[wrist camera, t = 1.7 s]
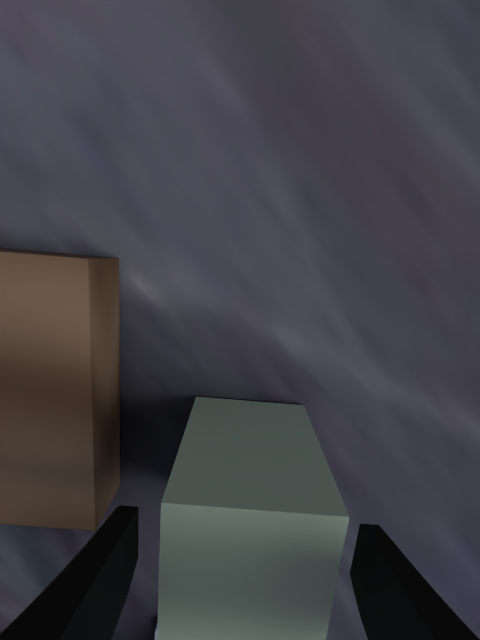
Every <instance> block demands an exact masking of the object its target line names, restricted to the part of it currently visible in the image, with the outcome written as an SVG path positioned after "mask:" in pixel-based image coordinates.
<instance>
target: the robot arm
mask: <svg viewBox="0 0 480 640" xmlns="http://www.w3.org/2000/svg"><path fill="white" fill-rule="evenodd" d="M137 559H138V507H133V506H118V507H117V508H116V509H115V510H114V511H113V513H112V514H111V515H110V516H109V518H108V519H107V520H106V521H105V522H104V524H103V525H102V526H101V527H100V528H99V530H98V531H97V532H96V533H95V534H94V536H93V537H92V538H91V539H90V540H89V541H88V542H87V544H86V545H85V546H84V547H83V548H82V549H81V551H80V552H79V553H78V554H77V555H76V556H75V557H74V558H73V559H72V560H71V562H70V563H69V564H68V565H67V566H66V567H65V568H64V569H63V570H62V572H61V573H60V574H59V575H58V576H57V577H56V578H55V579H54V580H53V581H52V582H51V583H50V584H49V585H48V586H47V587H46V588H45V590H44V591H43V592H42V593H41V594H40V595H39V596H38V597H37V598H36V599H35V600H34V601H33V602H32V603H31V604H30V605H29V606H28V607H27V608H26V609H25V610H24V611H23V612H22V613H21V614H20V615H19V616H18V617H17V618H16V619H15V620H14V621H13V622H12V623H11V624H10V625H9V626H8V627H7V628H6V629H5V630H4V631H3V632H2V633H1V634H0V640H111V638H112V636H113V633H114V630H115V628H116V625H117V622H118V620H119V617H120V614H121V612H122V609H123V606H124V604H125V601H126V598H127V595H128V591H129V588H130V584H131V581H132V577H133V574H134V570H135V567H136V563H137ZM350 576H351V580H352V585H353V589H354V593H355V597H356V601H357V605H358V609H359V613H360V617H361V620H362V623H363V626H364V629H365V632H366V635H367V638H368V640H479V638H478V637H477V636H476V635H475V634H474V633H473V632H472V631H471V630H470V629H469V628H468V627H467V626H466V625H465V624H464V623H463V622H462V620H461V619H460V618H459V617H458V616H457V615H456V614H455V613H454V612H453V611H452V609H451V608H450V607H449V606H448V605H447V604H446V603H445V602H444V601H443V599H442V598H441V597H440V596H439V595H438V594H437V593H436V592H435V590H434V589H433V588H432V587H431V586H430V585H429V584H428V582H427V581H426V580H425V579H424V578H423V577H422V575H421V574H420V573H419V572H418V571H417V570H416V568H415V567H414V566H413V565H412V564H411V563H410V561H409V560H408V559H407V558H406V557H405V555H404V554H403V553H402V552H401V551H400V550H399V548H398V547H397V546H396V545H395V544H394V542H393V541H392V540H391V539H390V538H389V536H388V535H387V534H386V533H385V532H384V530H383V529H382V528H381V527H380V526H379V525H371V524H360V527H359V532H358V537H357V541H356V546H355V551H354V556H353V561H352V566H351V570H350ZM157 626H158V623H157V625H156V630H155V640H157Z"/></svg>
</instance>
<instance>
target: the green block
mask: <svg viewBox="0 0 480 640" xmlns="http://www.w3.org/2000/svg"><path fill="white" fill-rule="evenodd" d="M348 522H349V515H348V513H347V510H346V508H345V505H344V503H343V500H342V498H341V495H340V493H339V491H338V488H337V486H336V483H335V481H334V478H333V476H332V473H331V471H330V469H329V466H328V464H327V461H326V459H325V456H324V454H323V451H322V449H321V447H320V444H319V442H318V439H317V437H316V434H315V432H314V429H313V427H312V425H311V422H310V420H309V417H308V415H307V412H306V410H305V407H304V405H295V404H283V403H270V402H257V401H245V400H232V399H220V398H207V397H196V398H195V401H194V405H193V408H192V411H191V414H190V417H189V420H188V423H187V426H186V429H185V432H184V435H183V438H182V441H181V444H180V447H179V450H178V453H177V456H176V459H175V462H174V465H173V468H172V471H171V474H170V477H169V480H168V484H167V487H166V490H165V493H164V496H163V499H162V502H161V525H160V558H159V592H158V626H157V640H326V635H327V630H328V625H329V620H330V615H331V610H332V604H333V599H334V594H335V589H336V584H337V579H338V573H339V568H340V563H341V558H342V553H343V547H344V542H345V537H346V532H347V527H348Z"/></svg>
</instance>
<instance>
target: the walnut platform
mask: <svg viewBox="0 0 480 640" xmlns="http://www.w3.org/2000/svg"><path fill="white" fill-rule="evenodd" d="M119 486H120V374H119V258H109V257H97V256H85V255H73V254H61V253H49V252H37V251H25V250H13V249H1V248H0V524H10V525H24V526H37V527H50V528H64V529H77V530H91V531H96V529H97V527H98V525H99V523H100V521H101V520H102V518H103V516H104V514H105V512H106V510H107V508H108V506H109V505H110V503H111V501H112V499H113V497H114V495H115V493H116V492H117V490H118V488H119Z"/></svg>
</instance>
